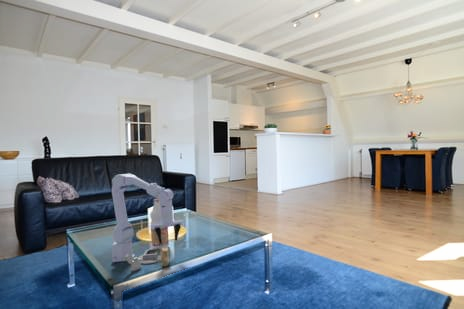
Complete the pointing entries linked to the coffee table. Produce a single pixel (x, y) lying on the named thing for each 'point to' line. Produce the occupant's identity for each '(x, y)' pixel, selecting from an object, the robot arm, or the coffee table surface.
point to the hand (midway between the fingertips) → (168, 241)
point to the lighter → (134, 262)
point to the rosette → (150, 256)
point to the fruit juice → (156, 219)
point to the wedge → (164, 256)
